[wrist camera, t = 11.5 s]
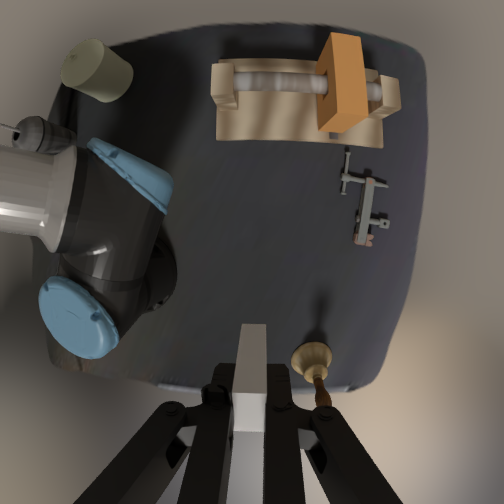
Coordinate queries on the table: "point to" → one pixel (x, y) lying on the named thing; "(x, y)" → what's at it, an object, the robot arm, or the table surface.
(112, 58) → the pale green cylinder
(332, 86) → the orange slotted block
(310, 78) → the pipe rig
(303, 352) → the hand bell
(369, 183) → the clamp
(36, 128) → the beverage cup
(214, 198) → the table surface
